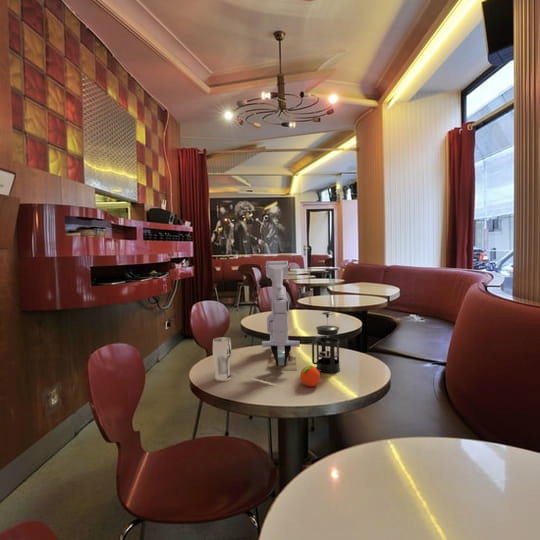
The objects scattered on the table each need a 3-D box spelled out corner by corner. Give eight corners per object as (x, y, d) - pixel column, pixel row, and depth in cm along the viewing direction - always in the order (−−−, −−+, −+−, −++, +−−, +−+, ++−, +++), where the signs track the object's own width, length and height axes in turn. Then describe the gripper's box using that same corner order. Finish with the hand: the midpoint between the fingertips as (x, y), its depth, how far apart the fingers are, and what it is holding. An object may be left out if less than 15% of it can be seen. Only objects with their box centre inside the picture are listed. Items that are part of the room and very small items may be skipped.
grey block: (274, 371, 142) (274, 357, 141) (275, 362, 151) (275, 350, 151) (288, 371, 141) (287, 357, 141) (288, 362, 151) (287, 350, 151)
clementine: (310, 392, 122) (309, 371, 122) (294, 387, 127) (294, 367, 126) (324, 385, 128) (323, 365, 127) (308, 380, 133) (308, 361, 132)
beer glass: (231, 381, 133) (229, 341, 132) (212, 382, 133) (210, 341, 132) (233, 375, 140) (232, 336, 139) (215, 375, 140) (214, 337, 139)
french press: (335, 364, 150) (335, 309, 148) (345, 372, 141) (345, 313, 139) (308, 367, 147) (307, 311, 146) (317, 375, 138) (316, 315, 137)
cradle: (268, 358, 160) (268, 352, 160) (295, 358, 159) (295, 352, 159) (266, 372, 142) (266, 365, 142) (296, 372, 141) (296, 365, 141)
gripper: (261, 333, 137) (262, 368, 138) (299, 332, 136) (300, 368, 137) (262, 328, 144) (263, 362, 145) (299, 328, 143) (299, 362, 144)
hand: (281, 364), depth 141 cm, fingers closed on grey block, 2 cm apart
